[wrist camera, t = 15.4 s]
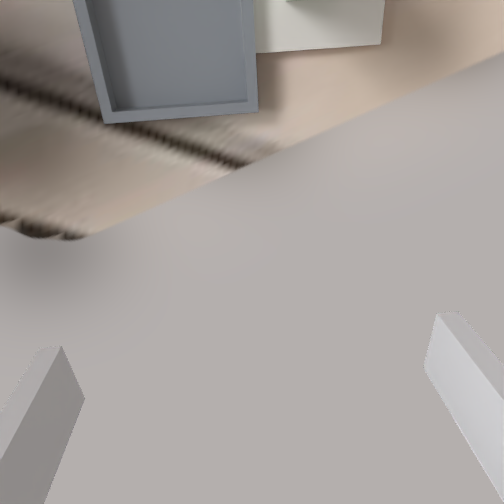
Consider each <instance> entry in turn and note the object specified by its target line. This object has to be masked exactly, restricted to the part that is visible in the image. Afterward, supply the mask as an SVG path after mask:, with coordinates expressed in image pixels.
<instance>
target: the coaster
mask: <svg viewBox="0 0 504 504" xmlns="http://www.w3.org/2000/svg"><path fill="white" fill-rule="evenodd" d="M384 6H385V0H300V1H288V2H286V0H253V8H254V28H255V48H256V53H269V52H283V51H297V50H311V49H325V48H339V47H352V46H366V45H380V44H381V36H382V26H383V16H384ZM241 16H242V13H241ZM242 31H243V29H242ZM243 47H244V45H243Z"/></svg>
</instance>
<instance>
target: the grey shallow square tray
mask: <svg viewBox="0 0 504 504" xmlns="http://www.w3.org/2000/svg"><path fill="white" fill-rule="evenodd" d="M73 3H74V7H75V11H76V15H77V19H78V23H79V27H80V31H81V35H82V38H83V42H84V46H85V50H86V54H87V58H88V62H89V66H90V70H91V74H92V78H93V81H94V85H95V89H96V93H97V97H98V101H99V105H100V109H101V113H102V117H103V121H104V124H109V123H123V122H136V121H149V120H162V119H175V118H189V117H202V116H215V115H228V114H242V113H255V112H259V109H258V89H257V69H256V48H255V28H254V8H253V0H73ZM241 13H242V16H241ZM242 29H243V31H242ZM243 45H244V47H243Z"/></svg>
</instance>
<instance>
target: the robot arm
mask: <svg viewBox="0 0 504 504" xmlns="http://www.w3.org/2000/svg"><path fill="white" fill-rule="evenodd" d="M423 368H424V370H425V372H426V373H427V375H428V377H429V378H430V380H431V382H432V384H433V385H434V387H435V388H436V390H437V392H438V393H439V395H440V397H441V399H442V400H443V402H444V404H445V405H446V407H447V409H448V410H449V412H450V414H451V415H452V417H453V419H454V421H455V422H456V424H457V426H458V427H459V429H460V431H461V432H462V434H463V435H464V437H465V439H466V441H467V442H468V444H469V446H470V447H471V449H472V451H473V452H474V454H475V456H476V457H477V459H478V461H479V463H480V464H481V466H482V467H483V469H484V471H485V473H486V474H487V476H488V478H489V479H490V481H491V483H492V484H493V486H494V488H495V489H496V491H497V493H498V494H499V496H500V498H501V500H502V501H503V503H504V365H503V364H502V362H501V361H500V360H499V359H498V358H497V356H496V355H495V354H494V353H493V352H492V350H491V349H490V348H489V347H488V346H487V345H486V343H485V342H484V341H483V340H482V339H481V337H480V336H479V335H478V334H477V333H476V332H475V330H474V329H473V328H472V327H471V326H470V325H469V323H468V322H467V321H466V320H465V319H464V317H463V316H462V315H461V314H460V313H459V312H458V311H456V312H444V313H437V315H436V319H435V323H434V327H433V331H432V335H431V339H430V343H429V347H428V351H427V355H426V359H425V363H424V367H423ZM84 400H85V398H84V395H83V393H82V391H81V388H80V386H79V384H78V382H77V379H76V377H75V375H74V373H73V370H72V368H71V366H70V364H69V361H68V359H67V357H66V355H65V352H64V350H63V348H62V346H57V347H45V348H39V349H38V351H37V353H36V354H35V356H34V358H33V359H32V361H31V363H30V365H29V366H28V368H27V369H26V371H25V373H24V374H23V376H22V377H21V379H20V381H19V382H18V384H17V386H16V387H15V389H14V391H13V392H12V394H11V396H10V397H9V399H8V401H7V403H6V404H5V406H4V407H3V409H2V411H1V412H0V504H44V502H45V499H46V497H47V494H48V492H49V489H50V487H51V484H52V481H53V479H54V476H55V474H56V471H57V469H58V466H59V464H60V461H61V458H62V456H63V453H64V451H65V448H66V446H67V443H68V441H69V438H70V436H71V433H72V430H73V428H74V425H75V423H76V420H77V418H78V415H79V413H80V410H81V407H82V405H83V402H84Z"/></svg>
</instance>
